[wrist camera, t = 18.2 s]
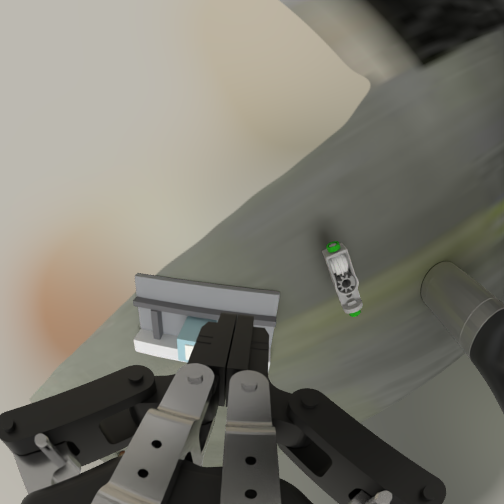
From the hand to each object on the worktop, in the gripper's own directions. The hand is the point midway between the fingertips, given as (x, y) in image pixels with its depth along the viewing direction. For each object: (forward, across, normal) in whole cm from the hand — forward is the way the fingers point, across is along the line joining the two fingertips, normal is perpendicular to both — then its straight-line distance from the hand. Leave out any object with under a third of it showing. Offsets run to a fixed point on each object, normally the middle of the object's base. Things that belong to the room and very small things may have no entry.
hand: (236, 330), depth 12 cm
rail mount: (+28, +8, +20) cm, 36 cm away
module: (+27, +8, +20) cm, 35 cm away
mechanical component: (+29, -11, +6) cm, 31 cm away
